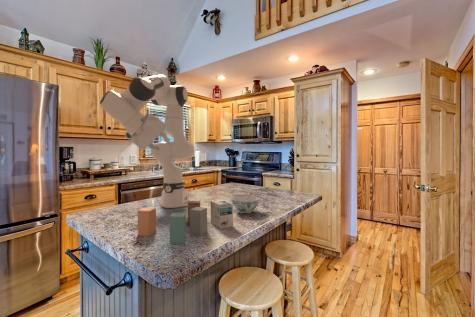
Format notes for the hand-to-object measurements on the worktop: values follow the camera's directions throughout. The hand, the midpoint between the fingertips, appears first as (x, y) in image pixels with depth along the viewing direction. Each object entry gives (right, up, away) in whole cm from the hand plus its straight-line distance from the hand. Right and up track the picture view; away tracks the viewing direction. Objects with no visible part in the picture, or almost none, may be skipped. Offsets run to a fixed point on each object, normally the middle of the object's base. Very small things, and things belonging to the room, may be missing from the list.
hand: (163, 146), depth 103 cm
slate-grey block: (+16, -36, -6) cm, 40 cm away
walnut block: (+12, -36, +7) cm, 38 cm away
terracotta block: (-5, -36, -7) cm, 37 cm away
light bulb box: (+25, -36, +4) cm, 44 cm away
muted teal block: (+10, -36, -15) cm, 40 cm away
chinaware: (+37, -35, +26) cm, 57 cm away
